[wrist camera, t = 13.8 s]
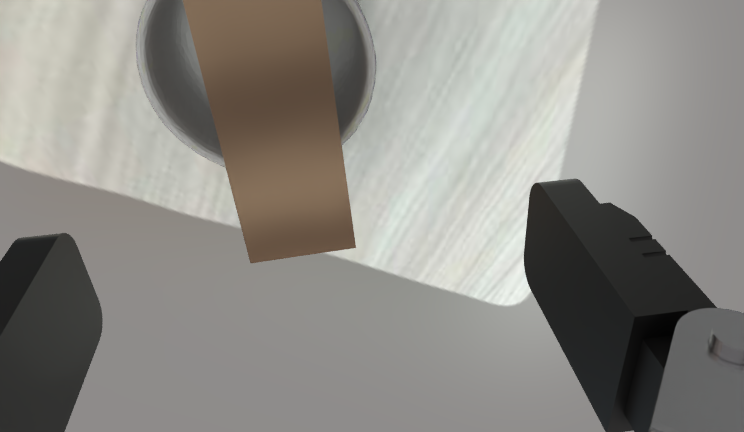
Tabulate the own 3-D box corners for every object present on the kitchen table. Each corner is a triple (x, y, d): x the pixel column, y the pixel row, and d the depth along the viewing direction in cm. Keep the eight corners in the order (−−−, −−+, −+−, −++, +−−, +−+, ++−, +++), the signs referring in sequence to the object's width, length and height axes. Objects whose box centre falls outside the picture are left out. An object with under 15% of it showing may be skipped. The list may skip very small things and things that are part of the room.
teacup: (299, 146, 38) (301, 211, 31) (133, 56, 34) (93, 107, 27) (429, -53, 33) (466, -27, 26) (252, -189, 29) (239, -200, 22)
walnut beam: (184, -120, 23) (153, -111, 18) (300, -134, 23) (303, -129, 18) (257, 194, 30) (250, 263, 25) (345, 181, 31) (355, 247, 26)
